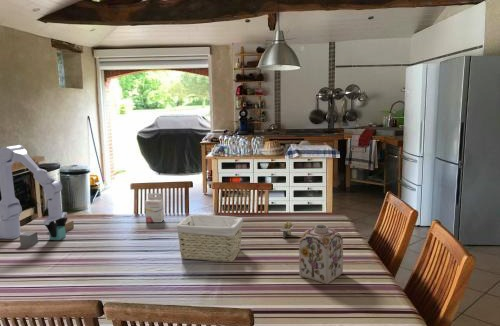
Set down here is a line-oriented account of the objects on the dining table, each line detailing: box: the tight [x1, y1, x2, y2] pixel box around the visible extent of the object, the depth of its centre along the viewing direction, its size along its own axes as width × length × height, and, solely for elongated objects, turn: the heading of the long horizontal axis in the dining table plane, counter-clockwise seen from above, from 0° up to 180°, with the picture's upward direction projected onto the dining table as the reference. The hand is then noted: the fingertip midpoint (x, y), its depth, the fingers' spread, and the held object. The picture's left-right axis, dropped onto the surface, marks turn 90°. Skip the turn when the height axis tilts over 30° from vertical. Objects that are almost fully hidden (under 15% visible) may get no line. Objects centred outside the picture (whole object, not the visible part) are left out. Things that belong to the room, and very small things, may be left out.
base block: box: [54, 219, 75, 232], centre depth 207 cm, size 8×8×4 cm
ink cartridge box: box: [144, 192, 165, 224], centre depth 216 cm, size 9×5×15 cm, turn 84°
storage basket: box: [176, 214, 244, 263], centre depth 168 cm, size 24×16×15 cm
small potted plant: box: [280, 221, 294, 240], centre depth 189 cm, size 12×18×7 cm, turn 159°
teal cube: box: [48, 226, 67, 241], centre depth 194 cm, size 5×5×5 cm
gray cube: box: [19, 231, 39, 247], centre depth 187 cm, size 5×5×5 cm
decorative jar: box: [298, 224, 344, 285], centre depth 146 cm, size 12×12×18 cm
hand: (57, 235), depth 194 cm, fingers closed on teal cube, 5 cm apart
